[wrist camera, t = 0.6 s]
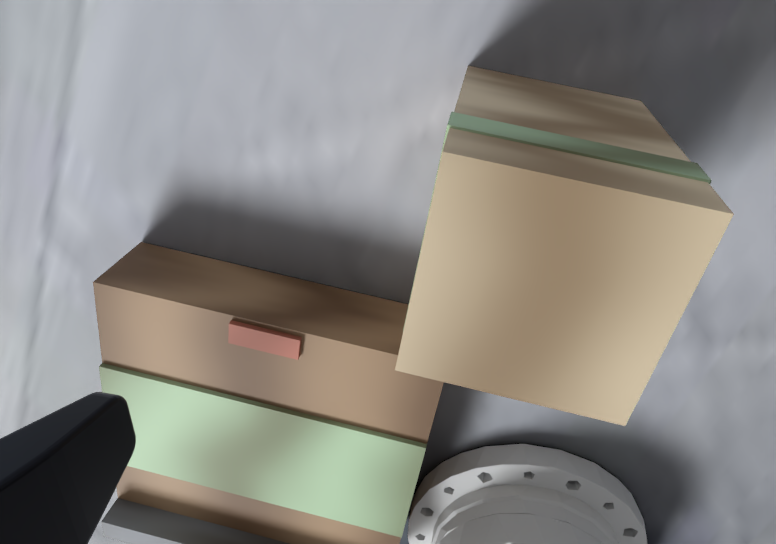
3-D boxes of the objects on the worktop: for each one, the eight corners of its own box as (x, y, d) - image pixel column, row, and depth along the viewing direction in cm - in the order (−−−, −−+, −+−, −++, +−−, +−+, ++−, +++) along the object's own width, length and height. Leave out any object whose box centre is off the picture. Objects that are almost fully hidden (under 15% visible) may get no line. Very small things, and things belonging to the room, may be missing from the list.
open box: (455, 315, 21) (444, 392, 18) (398, 523, 27) (382, 612, 24) (141, 241, 22) (70, 301, 19) (154, 460, 28) (103, 536, 25)
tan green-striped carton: (643, 99, 17) (738, 212, 10) (584, 254, 19) (626, 427, 12) (466, 63, 17) (439, 147, 10) (432, 220, 20) (392, 371, 13)
